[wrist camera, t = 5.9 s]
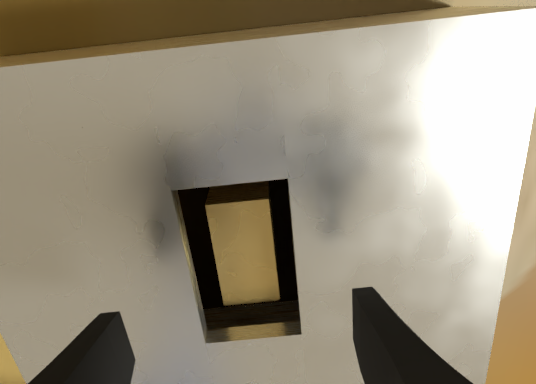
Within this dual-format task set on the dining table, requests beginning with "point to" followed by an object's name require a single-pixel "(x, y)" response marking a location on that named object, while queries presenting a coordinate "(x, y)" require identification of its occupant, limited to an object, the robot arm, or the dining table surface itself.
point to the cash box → (264, 169)
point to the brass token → (243, 242)
